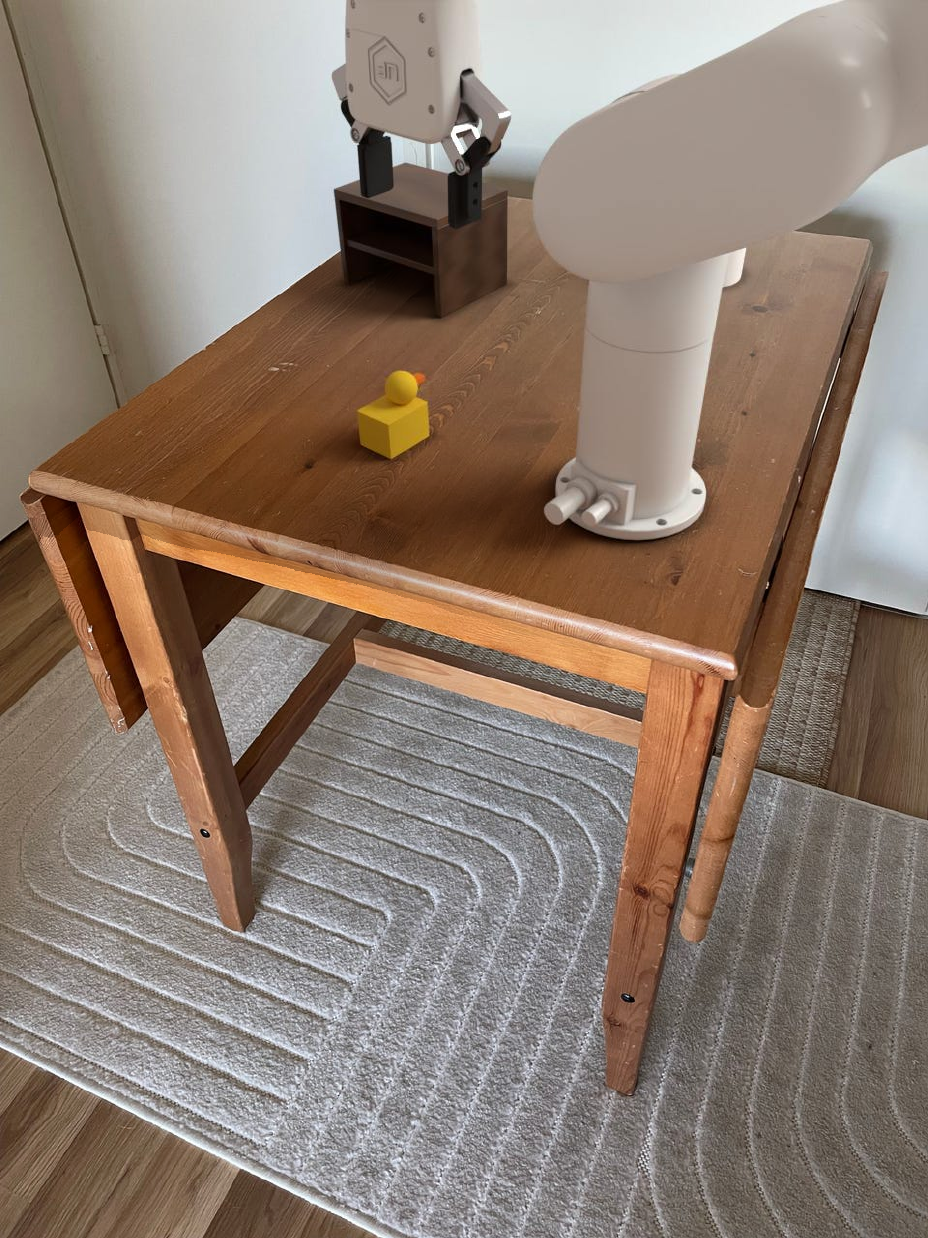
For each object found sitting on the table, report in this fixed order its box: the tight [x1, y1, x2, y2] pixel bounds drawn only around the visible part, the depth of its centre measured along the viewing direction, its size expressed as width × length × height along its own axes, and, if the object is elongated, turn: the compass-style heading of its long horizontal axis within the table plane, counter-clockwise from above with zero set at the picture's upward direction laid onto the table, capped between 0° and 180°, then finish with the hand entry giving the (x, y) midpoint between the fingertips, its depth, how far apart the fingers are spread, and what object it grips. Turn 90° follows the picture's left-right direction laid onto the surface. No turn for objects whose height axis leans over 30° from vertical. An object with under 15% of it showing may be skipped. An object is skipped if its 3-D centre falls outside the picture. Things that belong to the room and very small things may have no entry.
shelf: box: [333, 162, 509, 319], centre depth 109 cm, size 12×16×11 cm
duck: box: [356, 370, 430, 460], centre depth 85 cm, size 7×4×6 cm, turn 139°
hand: (420, 207), depth 74 cm, fingers open, 9 cm apart
